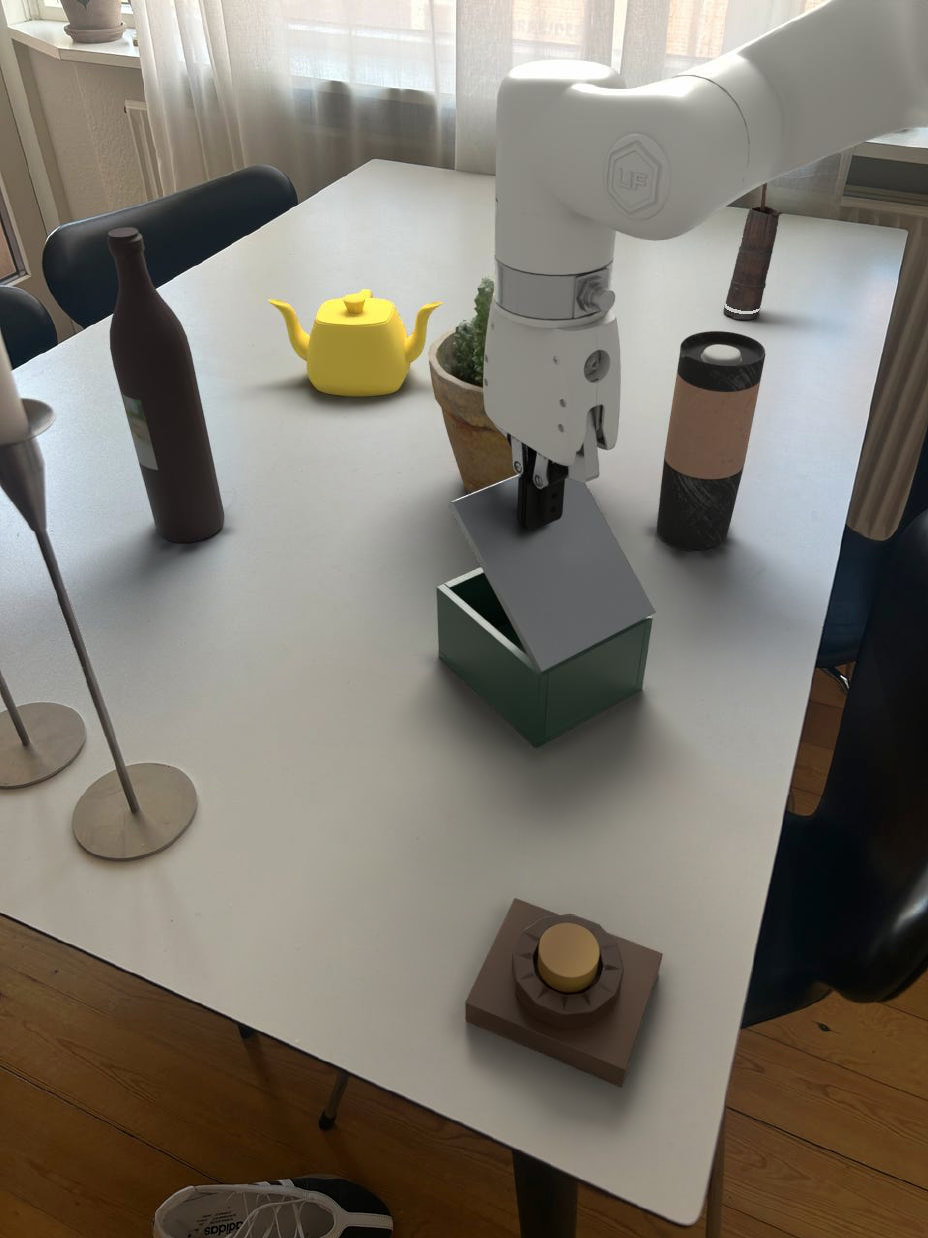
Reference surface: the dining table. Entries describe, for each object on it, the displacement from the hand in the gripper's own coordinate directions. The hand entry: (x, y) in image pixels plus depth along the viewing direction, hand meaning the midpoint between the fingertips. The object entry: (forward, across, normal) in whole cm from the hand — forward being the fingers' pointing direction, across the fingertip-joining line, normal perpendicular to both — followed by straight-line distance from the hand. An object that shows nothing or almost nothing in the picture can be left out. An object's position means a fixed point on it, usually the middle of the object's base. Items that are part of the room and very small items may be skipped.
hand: (539, 519), depth 74 cm
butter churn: (+16, +40, -73) cm, 85 cm away
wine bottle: (+16, +38, +15) cm, 44 cm away
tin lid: (+3, -2, 0) cm, 3 cm away
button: (+12, -25, +17) cm, 32 cm away
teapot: (+16, +58, -18) cm, 63 cm away
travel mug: (+16, +6, -26) cm, 31 cm away
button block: (+15, -25, +17) cm, 34 cm away
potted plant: (+16, +24, -17) cm, 34 cm away
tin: (+15, -1, 0) cm, 15 cm away
